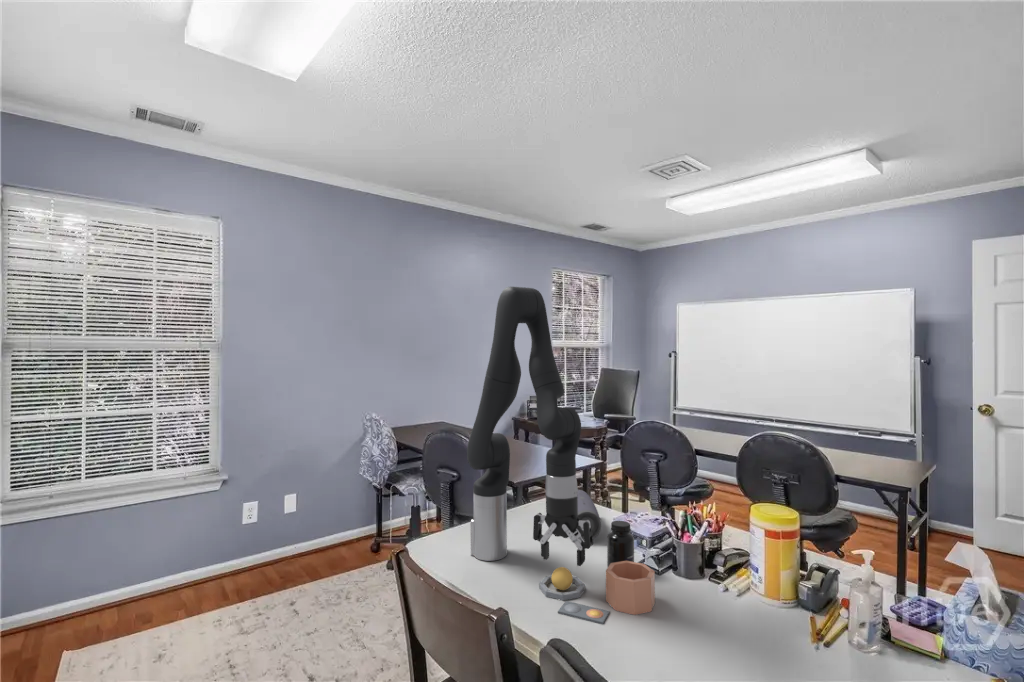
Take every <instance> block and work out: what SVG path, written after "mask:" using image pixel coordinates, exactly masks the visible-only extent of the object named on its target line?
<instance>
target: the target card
mask: <svg viewBox="0 0 1024 682" xmlns="http://www.w3.org/2000/svg"><path fill="white" fill-rule="evenodd" d="M557 613H558V614H561V615H563V614H564V616H567V617H571V618H576V619H581V620H585V621H588V622H591V623H592V622H593V623H596V624H601V625H604V623H605V621H606V620H607V618H608V616H609V615H610V610H607V609H603V608H598V607H593V606H589V605H586V604H581V603H578V602H573V601H570V600H564V603H563V604H562V605H561V607H560V608H559V609H558V610H557Z"/></svg>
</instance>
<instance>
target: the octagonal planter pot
mask: <svg viewBox="0 0 1024 682" xmlns="http://www.w3.org/2000/svg"><path fill="white" fill-rule="evenodd" d="M655 574H656V571H655V570H653V569H652V568H651V567H649V566H648V565H647V564H645V563H641V562H636V561H634V562H631V561H621V562H615V563H611V564H610V565H609V567H608V568H606V569H605V593H606V594H605V602H606V603H607V602H608V603H609V604H608V603H607V604H608V605H609V606H610V605H611V606H610V607H611V608H612V607H613V609H614V611H617V612H621V613H624V614H630V615H634V616H637V615H640V614H645V613H650V612H652V610H653V609H654V605H655V603H656V598H655V597H656V587H655V585H656V581H655V580H656V579H655Z"/></svg>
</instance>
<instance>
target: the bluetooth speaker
mask: <svg viewBox="0 0 1024 682" xmlns="http://www.w3.org/2000/svg"><path fill="white" fill-rule="evenodd" d="M577 497H578V518H579V520H582V521H587V520H588V519H589V520H591V523H592V536H593V539H594V538H596V537H598V535H599V534H600V532H601V529H602V521H601V517H600V515H599V512H598V509H597V507H596V505H595V502H594V501H593V499H592V498H591V496H590V495H589V494H588V493H587V492H586V491H584V490H583V489H578V493H577ZM577 530H578V531H579V533H580V534H581V537H582V539H583V540H584V531H583V530H582V529H581V526H578V528H577Z"/></svg>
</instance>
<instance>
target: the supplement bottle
mask: <svg viewBox="0 0 1024 682" xmlns="http://www.w3.org/2000/svg"><path fill="white" fill-rule="evenodd" d="M606 539H607V540H606V542H607V543H606V544H607V546H606V548H607V549H606V552H607V553H606V556H607V557H606V559H607V560H606V564H607V568H608V567H609V565H610V564H611V563H615V562H621V561H631V562H635V537H634V535H633V534H632V533H631V523H630V522H628V521H625V520H613V521H611V525H610V532H609V533H608V534H607V537H606ZM607 568H606V569H607Z"/></svg>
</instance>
